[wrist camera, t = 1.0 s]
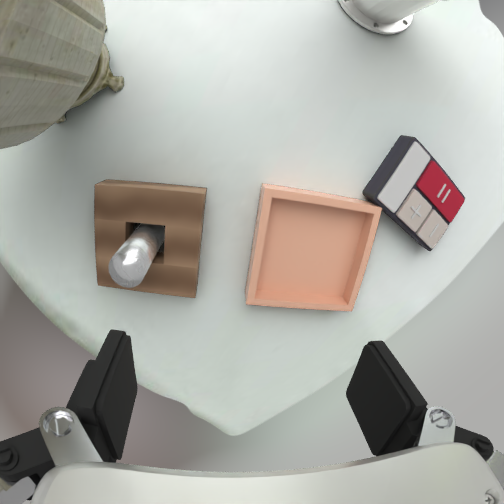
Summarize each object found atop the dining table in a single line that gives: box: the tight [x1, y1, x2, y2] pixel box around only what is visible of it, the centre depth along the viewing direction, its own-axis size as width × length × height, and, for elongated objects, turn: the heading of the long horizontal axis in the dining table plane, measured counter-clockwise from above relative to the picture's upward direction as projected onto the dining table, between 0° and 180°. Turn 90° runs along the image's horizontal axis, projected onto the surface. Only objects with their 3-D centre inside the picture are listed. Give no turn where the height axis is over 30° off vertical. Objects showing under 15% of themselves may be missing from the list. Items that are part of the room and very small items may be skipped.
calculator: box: [363, 135, 465, 251], centre depth 40 cm, size 11×4×15 cm
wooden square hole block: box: [94, 180, 207, 298], centre depth 39 cm, size 14×14×4 cm
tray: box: [245, 183, 382, 311], centre depth 41 cm, size 16×16×4 cm
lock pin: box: [108, 223, 165, 288], centre depth 35 cm, size 4×4×12 cm
